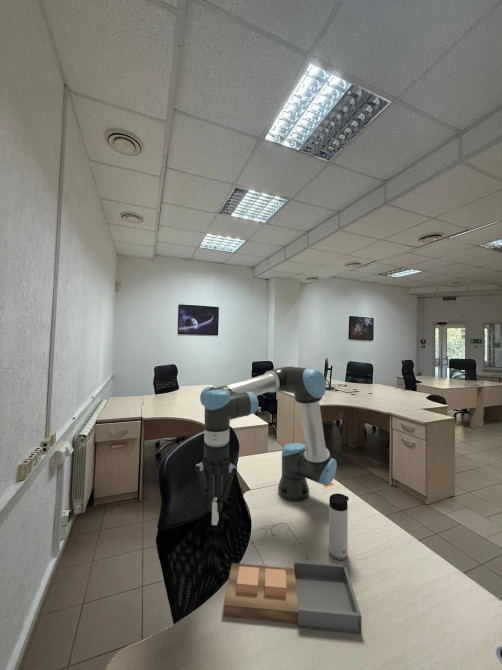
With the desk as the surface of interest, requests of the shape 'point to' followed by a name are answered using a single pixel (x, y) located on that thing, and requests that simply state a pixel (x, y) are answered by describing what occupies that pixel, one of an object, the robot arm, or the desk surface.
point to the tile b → (275, 582)
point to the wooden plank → (261, 598)
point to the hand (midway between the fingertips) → (215, 522)
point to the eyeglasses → (274, 535)
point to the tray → (326, 598)
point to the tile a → (248, 580)
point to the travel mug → (338, 526)
